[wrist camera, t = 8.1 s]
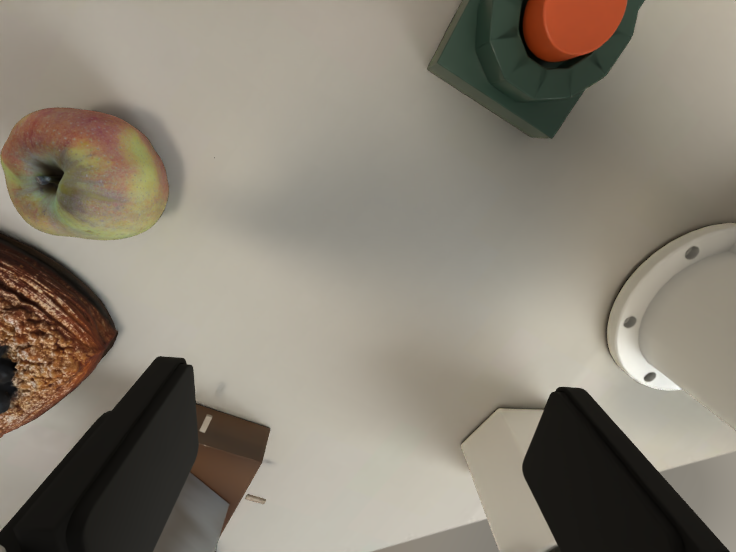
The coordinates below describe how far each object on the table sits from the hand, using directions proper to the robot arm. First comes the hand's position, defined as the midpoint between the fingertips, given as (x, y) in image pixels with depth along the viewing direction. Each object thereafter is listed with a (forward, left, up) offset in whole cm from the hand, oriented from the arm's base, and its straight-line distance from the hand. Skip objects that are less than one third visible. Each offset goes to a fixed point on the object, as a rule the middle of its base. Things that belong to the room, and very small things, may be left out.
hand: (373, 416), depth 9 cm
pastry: (+14, -17, -14) cm, 26 cm away
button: (-14, +2, -10) cm, 17 cm away
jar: (+9, +19, -14) cm, 25 cm away
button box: (-14, +2, -14) cm, 20 cm away
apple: (+1, -13, -14) cm, 19 cm away
